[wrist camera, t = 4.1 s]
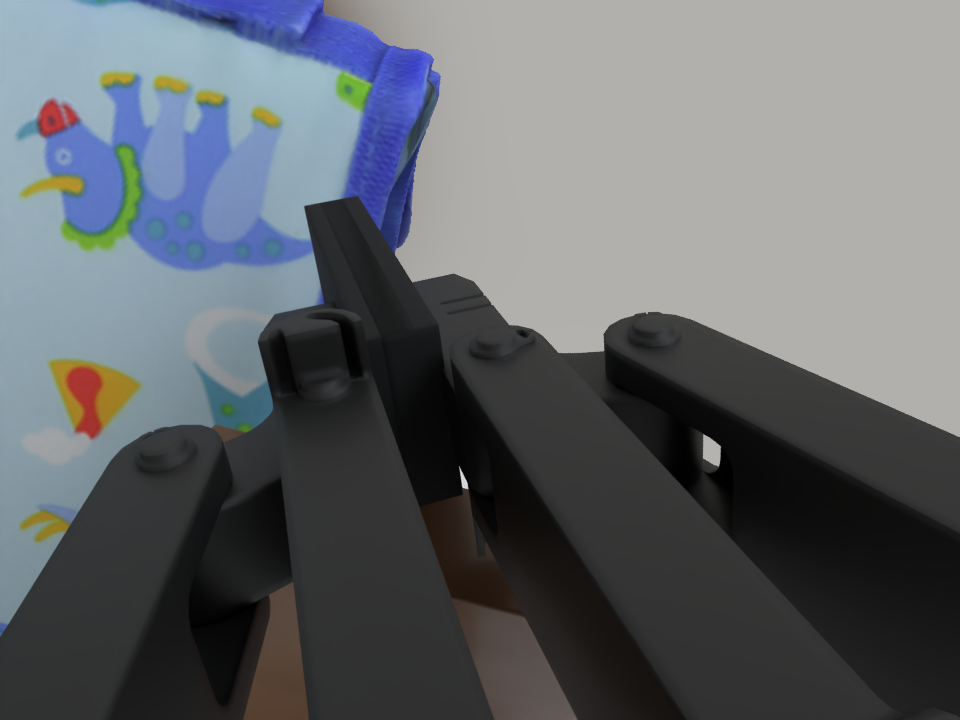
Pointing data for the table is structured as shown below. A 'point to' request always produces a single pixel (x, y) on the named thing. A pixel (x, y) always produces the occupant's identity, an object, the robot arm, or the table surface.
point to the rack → (481, 611)
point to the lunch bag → (169, 221)
